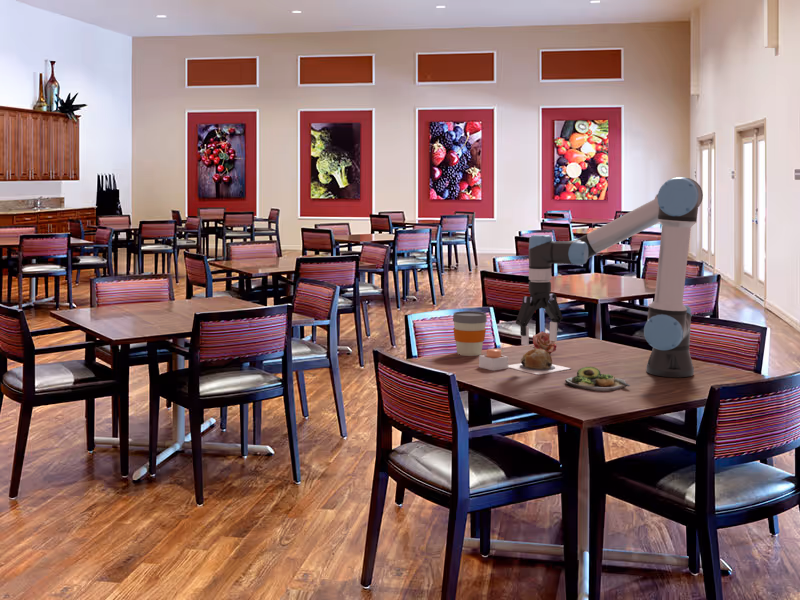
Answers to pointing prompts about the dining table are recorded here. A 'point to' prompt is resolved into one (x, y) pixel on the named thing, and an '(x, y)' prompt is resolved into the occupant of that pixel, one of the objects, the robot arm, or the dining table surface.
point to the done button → (493, 353)
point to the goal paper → (537, 371)
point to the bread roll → (537, 359)
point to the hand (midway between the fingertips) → (539, 343)
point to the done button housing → (493, 362)
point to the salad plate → (595, 380)
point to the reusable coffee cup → (469, 332)
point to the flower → (544, 342)
